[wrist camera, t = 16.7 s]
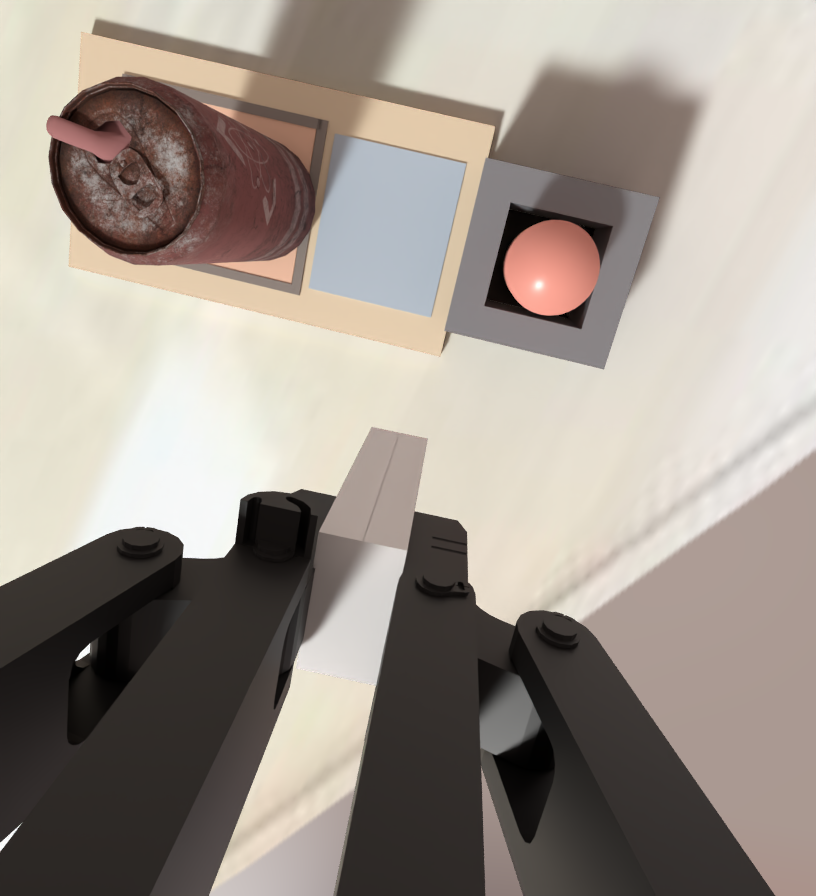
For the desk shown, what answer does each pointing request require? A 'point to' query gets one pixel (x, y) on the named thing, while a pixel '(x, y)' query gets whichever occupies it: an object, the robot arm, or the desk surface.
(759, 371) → the desk surface
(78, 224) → the can
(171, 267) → the board
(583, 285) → the button
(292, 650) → the robot arm
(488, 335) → the button housing
